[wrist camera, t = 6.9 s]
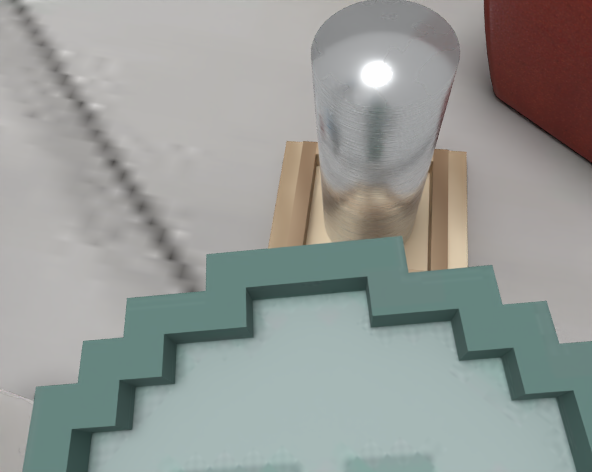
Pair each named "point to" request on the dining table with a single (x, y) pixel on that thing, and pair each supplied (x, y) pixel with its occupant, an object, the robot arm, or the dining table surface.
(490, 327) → the can
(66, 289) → the dining table surface
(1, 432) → the white cup
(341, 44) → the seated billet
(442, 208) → the wooden tray
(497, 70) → the plant pot
